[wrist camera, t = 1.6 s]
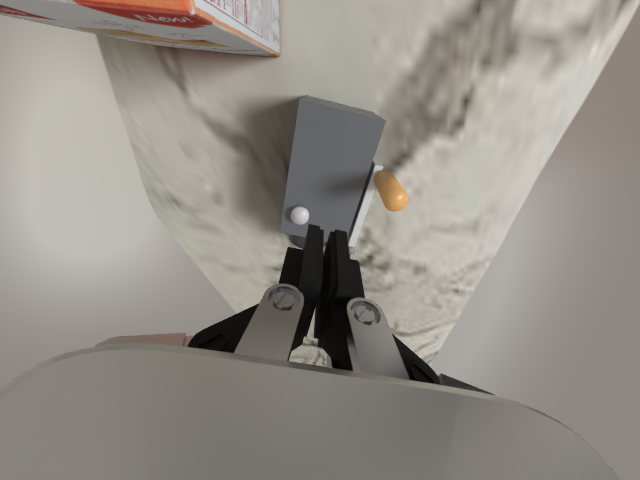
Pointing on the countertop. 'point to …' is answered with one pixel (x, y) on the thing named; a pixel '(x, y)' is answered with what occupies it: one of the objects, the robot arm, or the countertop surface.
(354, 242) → the grey blade tan handle
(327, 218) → the block
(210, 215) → the countertop surface
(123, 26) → the cracker box
